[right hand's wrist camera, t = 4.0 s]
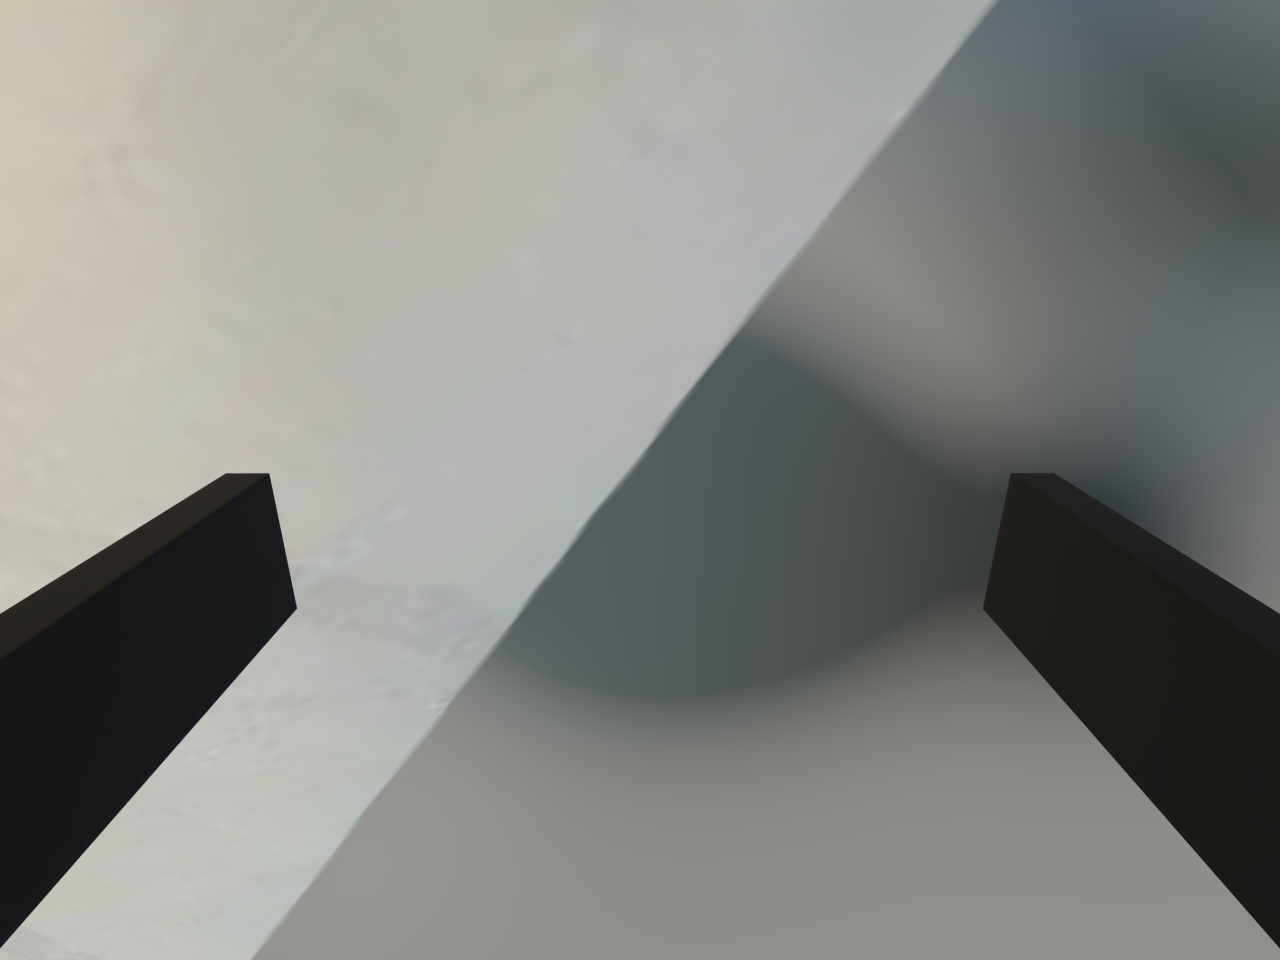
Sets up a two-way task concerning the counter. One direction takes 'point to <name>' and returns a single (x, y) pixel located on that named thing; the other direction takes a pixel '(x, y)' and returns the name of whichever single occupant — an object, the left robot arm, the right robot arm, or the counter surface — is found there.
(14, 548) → the counter surface
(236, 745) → the counter surface
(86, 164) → the counter surface
